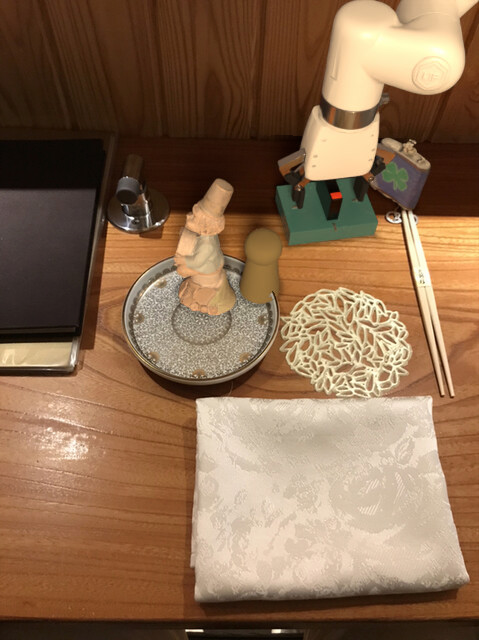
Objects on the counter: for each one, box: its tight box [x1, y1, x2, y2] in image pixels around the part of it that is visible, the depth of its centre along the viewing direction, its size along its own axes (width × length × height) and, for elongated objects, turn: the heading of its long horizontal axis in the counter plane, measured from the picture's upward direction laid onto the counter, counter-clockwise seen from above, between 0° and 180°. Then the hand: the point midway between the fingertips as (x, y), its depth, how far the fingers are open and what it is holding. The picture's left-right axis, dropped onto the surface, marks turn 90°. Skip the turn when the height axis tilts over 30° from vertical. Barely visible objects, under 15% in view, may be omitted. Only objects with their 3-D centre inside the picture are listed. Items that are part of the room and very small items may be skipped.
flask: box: [369, 137, 432, 211], centre depth 90 cm, size 9×3×11 cm, turn 44°
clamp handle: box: [316, 179, 343, 221], centre depth 87 cm, size 7×2×5 cm, turn 10°
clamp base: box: [274, 177, 379, 247], centre depth 90 cm, size 14×11×3 cm
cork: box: [238, 227, 284, 305], centre depth 79 cm, size 6×6×11 cm
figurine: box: [172, 178, 237, 316], centre depth 74 cm, size 9×8×20 cm
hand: (328, 198), depth 88 cm, fingers open, 9 cm apart
